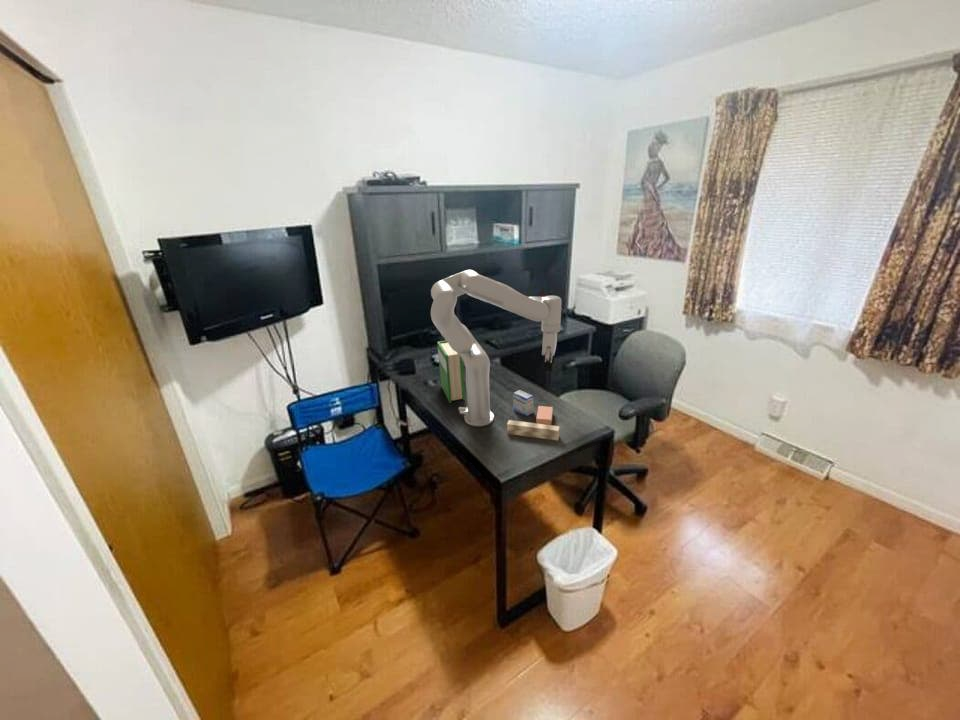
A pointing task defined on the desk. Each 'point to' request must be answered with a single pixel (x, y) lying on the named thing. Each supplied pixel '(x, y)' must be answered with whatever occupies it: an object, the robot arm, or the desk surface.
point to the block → (544, 415)
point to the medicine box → (523, 402)
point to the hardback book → (451, 372)
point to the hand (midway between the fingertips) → (549, 366)
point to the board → (533, 430)
